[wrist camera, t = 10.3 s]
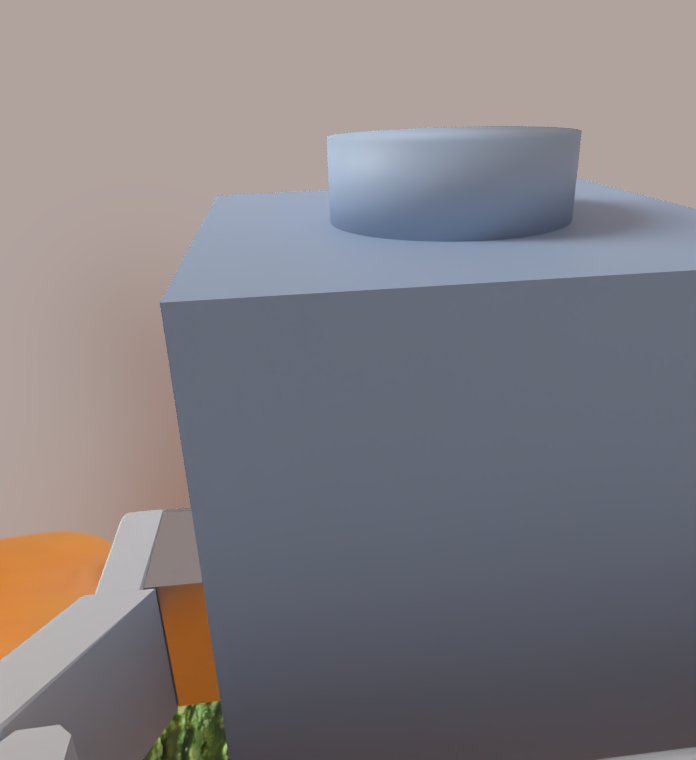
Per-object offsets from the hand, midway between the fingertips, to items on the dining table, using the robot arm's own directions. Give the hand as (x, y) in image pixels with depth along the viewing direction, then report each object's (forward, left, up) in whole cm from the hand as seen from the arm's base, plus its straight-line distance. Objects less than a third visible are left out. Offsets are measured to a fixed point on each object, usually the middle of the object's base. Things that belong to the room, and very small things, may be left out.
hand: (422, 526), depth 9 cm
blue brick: (+1, -1, -5) cm, 6 cm away
